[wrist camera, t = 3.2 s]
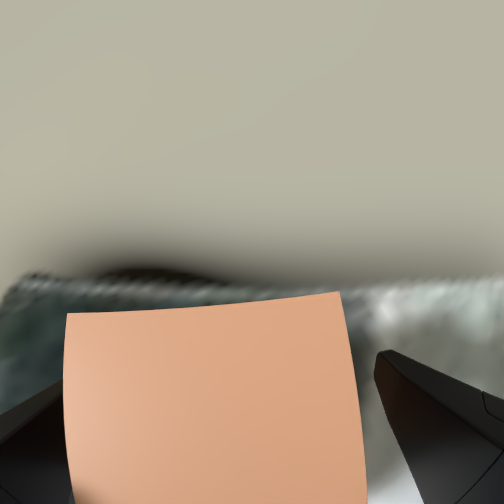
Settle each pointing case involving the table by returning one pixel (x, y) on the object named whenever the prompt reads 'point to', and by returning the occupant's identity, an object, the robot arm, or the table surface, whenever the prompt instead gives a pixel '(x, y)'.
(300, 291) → the table surface
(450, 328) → the table surface
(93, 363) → the post
